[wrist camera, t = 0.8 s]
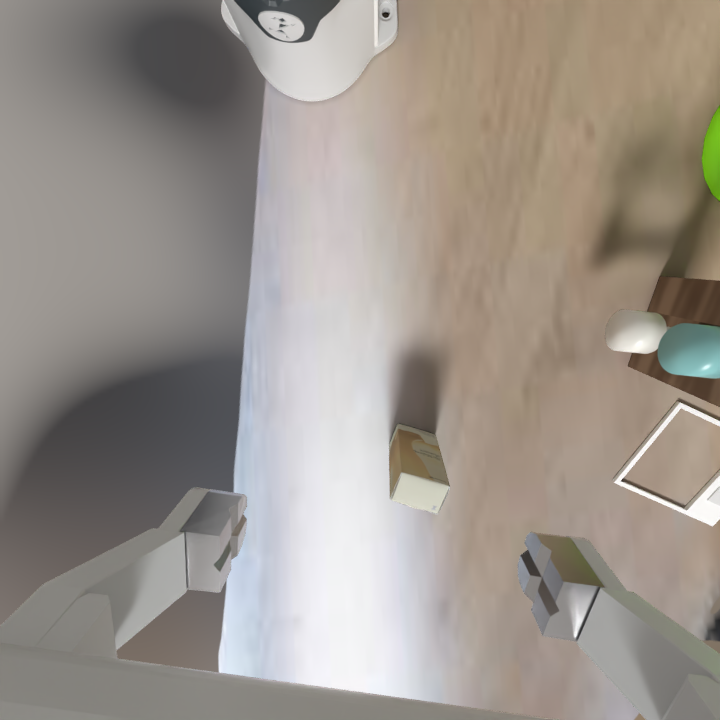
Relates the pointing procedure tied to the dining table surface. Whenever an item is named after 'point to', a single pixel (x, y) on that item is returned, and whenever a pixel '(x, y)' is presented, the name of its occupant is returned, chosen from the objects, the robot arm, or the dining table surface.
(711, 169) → the wineglass
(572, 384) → the dining table surface
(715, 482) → the photo frame
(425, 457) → the skincare box
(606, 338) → the knob lower
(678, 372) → the knob upper
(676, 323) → the block
